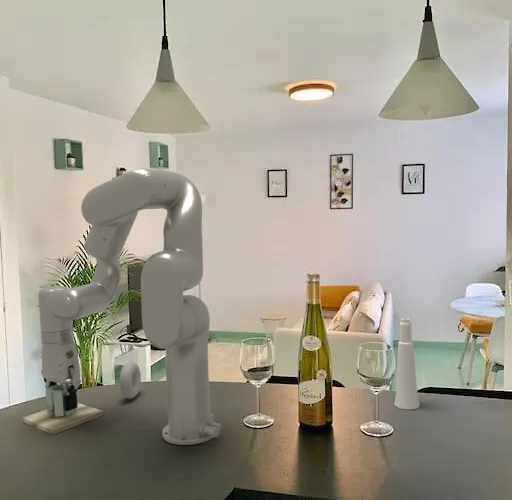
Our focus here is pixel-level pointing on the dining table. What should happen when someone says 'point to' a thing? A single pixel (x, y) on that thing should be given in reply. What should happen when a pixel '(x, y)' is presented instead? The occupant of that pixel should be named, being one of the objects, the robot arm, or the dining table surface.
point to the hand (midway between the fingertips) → (62, 405)
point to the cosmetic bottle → (406, 370)
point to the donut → (130, 380)
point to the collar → (57, 400)
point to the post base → (61, 419)
